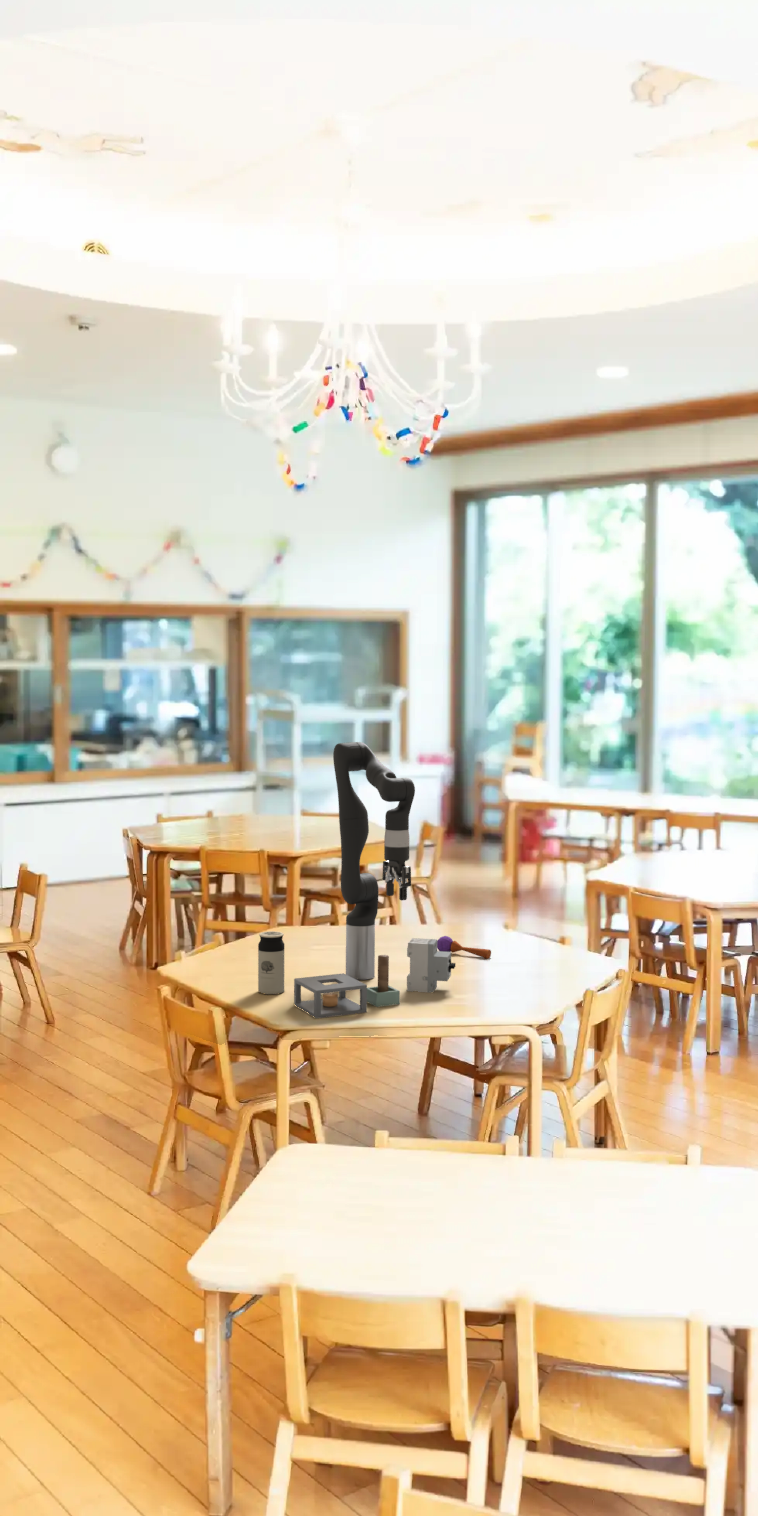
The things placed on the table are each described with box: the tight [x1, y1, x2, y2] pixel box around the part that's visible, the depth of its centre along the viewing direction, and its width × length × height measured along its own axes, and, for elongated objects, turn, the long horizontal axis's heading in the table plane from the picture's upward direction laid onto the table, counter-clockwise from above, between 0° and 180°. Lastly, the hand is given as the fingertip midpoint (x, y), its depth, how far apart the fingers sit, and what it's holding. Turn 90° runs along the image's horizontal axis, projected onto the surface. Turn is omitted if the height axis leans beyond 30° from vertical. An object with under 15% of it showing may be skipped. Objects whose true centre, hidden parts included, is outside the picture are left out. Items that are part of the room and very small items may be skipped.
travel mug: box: [257, 930, 285, 995], centre depth 416 cm, size 8×8×18 cm
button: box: [322, 992, 339, 1007], centre depth 396 cm, size 4×4×3 cm
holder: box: [367, 984, 401, 1008], centre depth 404 cm, size 8×8×4 cm
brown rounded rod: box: [377, 954, 390, 993], centre depth 404 cm, size 3×3×14 cm
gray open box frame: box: [293, 972, 368, 1019], centre depth 396 cm, size 16×16×8 cm
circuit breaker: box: [406, 937, 456, 993], centre depth 420 cm, size 8×14×15 cm, turn 78°
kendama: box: [437, 935, 492, 960], centre depth 469 cm, size 6×6×20 cm
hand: (396, 897), depth 409 cm, fingers open, 8 cm apart
